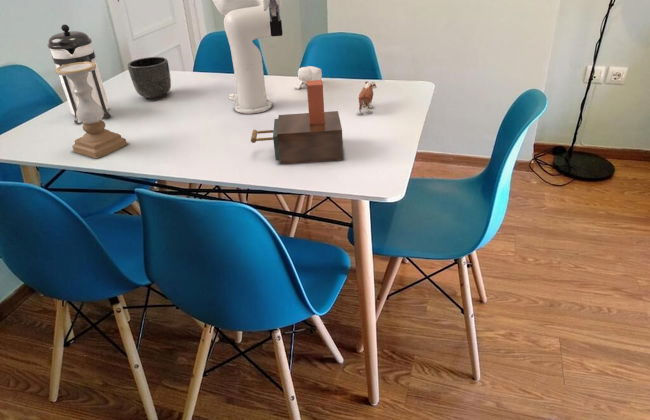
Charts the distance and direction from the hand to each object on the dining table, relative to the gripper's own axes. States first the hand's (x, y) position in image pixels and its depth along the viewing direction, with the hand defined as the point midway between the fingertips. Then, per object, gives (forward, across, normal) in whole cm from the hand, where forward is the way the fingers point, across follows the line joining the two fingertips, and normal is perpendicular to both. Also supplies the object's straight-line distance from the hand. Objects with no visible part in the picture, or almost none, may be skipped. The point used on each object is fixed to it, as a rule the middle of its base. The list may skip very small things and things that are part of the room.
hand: (276, 35), depth 139 cm
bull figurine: (+27, -10, +27) cm, 39 cm away
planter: (+27, -37, -49) cm, 67 cm away
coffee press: (+27, -21, -67) cm, 76 cm away
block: (+18, +20, +9) cm, 29 cm away
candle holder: (+27, +8, -54) cm, 61 cm away
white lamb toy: (+27, -37, +8) cm, 47 cm away
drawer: (+26, +20, +2) cm, 33 cm away
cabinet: (+27, +20, +7) cm, 34 cm away
